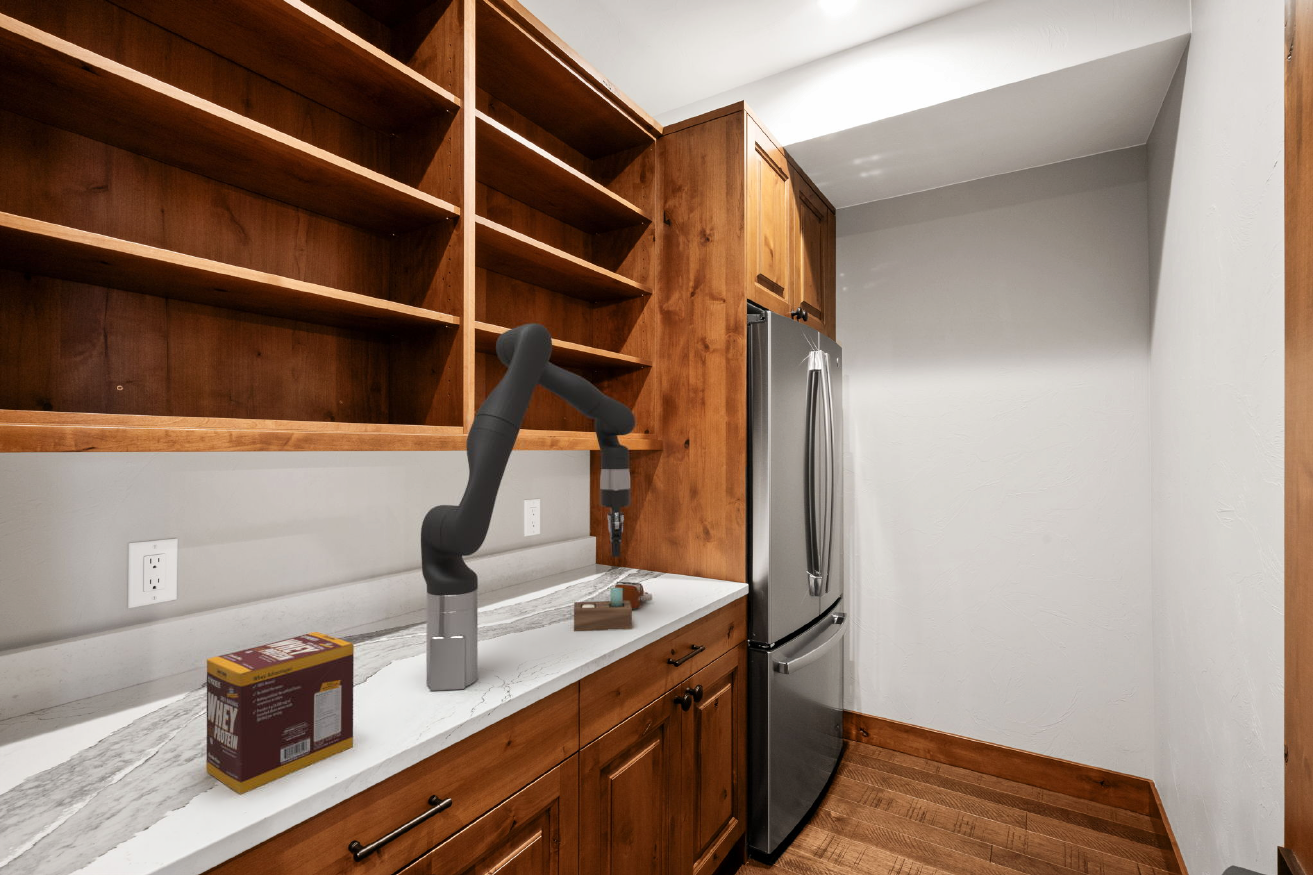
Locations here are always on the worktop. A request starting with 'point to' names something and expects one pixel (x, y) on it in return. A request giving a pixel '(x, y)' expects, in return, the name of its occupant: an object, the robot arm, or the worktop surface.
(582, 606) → the peg cream
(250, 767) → the supplement box
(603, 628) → the socket block
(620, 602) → the peg teal
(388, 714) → the worktop surface
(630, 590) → the toy
